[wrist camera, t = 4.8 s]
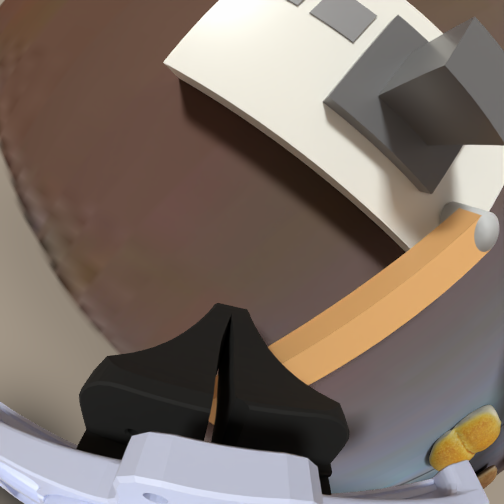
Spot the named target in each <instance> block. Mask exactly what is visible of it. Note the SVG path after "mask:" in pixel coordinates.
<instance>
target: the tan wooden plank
mask: <svg viewBox="0 0 504 504" xmlns="http://www.w3.org/2000/svg"><path fill="white" fill-rule="evenodd" d="M498 235H499V222H498V219H497V217H496V216H495V214H493V213H491V212H488V211H485V210H482V209H479V208H475V207H472V206H469V205H465V204H462V203H458V202H454V201H452V202H449V203H447V204H446V205H445V206H444V207H443V209H442V211H441V214H440V225H439V226H438V227H436V228H435V229H434V230H433V231H432V232H430V233H429V234H428V235H427V236H426V237H424V238H423V239H422V240H421V241H419V242H418V243H417V244H416V245H414V246H413V247H412V248H411V249H409V250H408V251H407V252H406V253H404V254H403V255H402V256H401V257H399V258H398V259H397V260H395V261H394V262H393V263H391V264H390V265H389V266H387V267H386V268H385V269H383V270H382V271H381V272H379V273H378V274H377V275H375V276H374V277H373V278H371V279H370V280H369V281H367V282H366V283H364V284H363V285H362V286H360V287H359V288H357V289H356V290H355V291H353V292H352V293H350V294H349V295H347V296H346V297H345V298H343V299H342V300H340V301H339V302H337V303H336V304H334V305H333V306H331V307H330V308H328V309H327V310H325V311H324V312H322V313H321V314H319V315H318V316H316V317H315V318H313V319H312V320H310V321H309V322H307V323H305V324H304V325H302V326H301V327H299V328H298V329H296V330H294V331H293V332H291V333H290V334H288V335H286V336H285V337H283V338H282V339H280V340H278V341H277V342H275V343H273V344H272V345H270V346H268V348H269V350H270V351H271V352H272V353H273V355H274V356H275V357H276V358H277V359H278V360H279V361H280V362H281V363H282V364H283V365H284V366H285V367H286V368H287V369H288V370H289V371H290V372H291V373H292V374H294V375H295V376H296V377H297V378H298V379H300V380H301V381H302V382H304V383H305V384H307V385H310V384H311V383H313V382H315V381H317V380H319V379H320V378H322V377H324V376H326V375H327V374H329V373H331V372H332V371H334V370H336V369H337V368H339V367H341V366H342V365H344V364H346V363H347V362H349V361H350V360H352V359H354V358H355V357H357V356H358V355H360V354H361V353H363V352H364V351H366V350H368V349H369V348H371V347H372V346H374V345H375V344H377V343H378V342H379V341H381V340H382V339H384V338H385V337H387V336H388V335H390V334H391V333H392V332H394V331H395V330H397V329H398V328H399V327H401V326H402V325H403V324H405V323H406V322H407V321H409V320H410V319H411V318H413V317H414V316H415V315H417V314H418V313H419V312H420V311H422V310H423V309H424V308H426V307H427V306H428V305H429V304H431V303H432V302H433V301H434V300H435V299H437V298H438V297H439V296H440V295H441V294H443V293H444V292H445V291H446V290H447V289H449V288H450V287H451V286H452V285H453V284H454V283H455V282H457V281H458V280H459V279H460V278H461V277H462V276H463V275H464V274H465V273H467V272H468V271H469V270H470V269H471V268H472V267H473V266H474V265H475V264H476V263H477V262H478V261H479V260H480V259H481V258H482V257H483V256H484V255H485V254H486V253H487V252H488V251H489V250H490V249H491V248H492V247H493V246H494V245H495V243H496V241H497V238H498ZM217 387H218V375H217V376H216V378H215V386H214V396H213V401H212V407H211V413H210V417H209V422H211V423H212V424H213V425H214V423H215V417H216V407H217Z"/></svg>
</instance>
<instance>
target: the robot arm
mask: <svg viewBox="0 0 504 504" xmlns="http://www.w3.org/2000/svg"><path fill="white" fill-rule="evenodd" d="M218 368H219V370H218ZM217 371H218V387H217V407H216V417H215V423H214V429H213V435H212V441H211V442H206V441H204V437H205V433H206V429H207V425H208V421H209V417H210V413H211V407H212V401H213V396H214V386H215V378H216V374H217ZM79 400H80V406H81V411H82V415H83V419H84V423H85V426H86V431H85V433H84V435H83V437H82V439H81V441H80V442H79V444H78V445H76V444H73V443H71V442H69V441H67V440H65V439H63V438H61V437H59V436H57V435H55V434H53V433H51V432H49V431H47V430H46V429H44V428H42V427H40V426H38V425H37V424H35V423H33V422H31V421H30V420H28V419H26V418H25V417H23V416H22V415H20V414H18V413H17V412H15V411H14V410H12V409H11V408H9V407H8V406H6V405H4V404H3V403H2V402H0V486H1V487H2V488H4V489H5V490H6V491H8V492H9V493H10V494H12V495H13V496H14V497H16V498H17V499H19V500H20V501H22V502H23V503H24V504H489V500H488V498H487V496H486V494H485V492H484V490H483V488H482V486H481V484H480V482H479V480H478V478H477V476H476V474H475V472H474V470H473V468H472V466H471V464H470V463H469V461H468V460H464V461H460V462H457V463H454V464H450V465H448V466H446V467H444V468H443V469H442V470H440V471H439V472H438V473H437V474H436V475H435V476H434V478H432V479H428V480H424V481H420V482H415V483H411V484H406V485H401V486H395V487H389V488H383V489H376V490H369V491H360V492H350V493H336V494H331V490H330V484H329V479H328V477H330V476H331V474H332V469H331V464H330V463H331V462H332V461H333V460H334V458H335V457H336V456H337V455H338V454H339V452H340V451H341V450H342V448H343V447H344V446H345V444H346V442H347V441H348V439H349V429H348V426H347V422H346V419H345V416H344V413H343V411H342V408H341V406H340V403H338V402H336V401H334V400H332V399H330V398H328V397H326V396H324V395H323V394H321V393H319V392H317V391H316V390H314V389H313V388H311V387H310V386H308V385H307V384H305V383H304V382H302V381H301V380H300V379H298V378H297V377H296V376H295V375H294V374H292V373H291V372H290V371H289V370H288V369H287V368H286V367H285V366H284V365H283V364H282V363H281V362H280V361H279V360H278V359H277V358H276V357H275V356H274V355H273V353H272V352H271V351H270V350H269V348H268V347H267V345H266V344H265V342H264V341H263V339H262V338H261V336H260V334H259V333H258V331H257V329H256V327H255V325H254V323H253V321H252V319H251V317H250V314H249V312H248V311H247V309H242V308H238V307H233V306H229V305H224V304H220V303H217V304H215V305H214V306H213V308H212V309H211V310H210V311H209V312H208V313H207V314H206V315H205V316H204V317H203V318H202V319H201V320H200V321H199V322H197V323H196V324H195V325H194V326H192V327H191V328H189V329H188V330H187V331H185V332H184V333H182V334H181V335H179V336H177V337H176V338H174V339H172V340H170V341H168V342H166V343H163V344H161V345H158V346H156V347H153V348H149V349H146V350H142V351H138V352H134V353H128V354H120V355H113V356H107V357H106V358H105V359H104V360H103V361H102V362H101V363H100V364H99V365H98V366H97V368H96V369H95V370H94V371H93V373H92V374H91V375H90V377H89V378H88V380H87V381H86V383H85V384H84V386H83V387H82V389H81V391H80V394H79Z"/></svg>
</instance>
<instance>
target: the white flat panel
mask: <svg viewBox="0 0 504 504" xmlns="http://www.w3.org/2000/svg"><path fill="white" fill-rule="evenodd" d="M397 15H399V16H400V17H402V18H403V19H404V20H405V21H406V22H408V23H409V24H410V25H411V26H412V27H413V28H414V29H416V30H417V31H418V32H419V33H420V34H421V35H422V36H423V37H424V38H425V39H426V40H427V41H428V42H430V41H432V40H433V39H435V38H437V37H439V36H440V35H442V34H443V33H442V32H441V31H440V30H439V29H438V28H437V27H436V26H434V25H433V24H432V23H431V22H430V21H429V20H428V19H427V18H426V17H425V16H424V15H423V14H421V13H420V12H419V11H418V10H417V9H416V8H414V7H413V6H412V5H411V4H410V3H408V2H407V1H406V0H219V1H218V2H217V3H216V4H215V5H214V6H213V7H212V8H211V9H210V10H209V11H208V12H207V13H206V14H205V15H204V16H203V17H202V18H201V19H200V20H199V21H198V23H197V24H196V25H195V26H194V27H193V28H192V29H191V30H190V31H189V32H188V33H187V35H186V36H185V37H184V38H183V39H182V40H181V42H180V43H179V44H178V45H177V46H176V47H175V49H174V50H173V51H172V52H171V53H170V55H169V56H168V57H167V58H166V60H165V61H164V62H163V63H164V64H165V65H166V66H167V67H168V68H169V69H170V70H171V71H172V72H173V73H174V74H175V75H176V76H177V77H178V78H179V79H181V80H183V81H185V82H186V83H188V84H190V85H191V86H193V87H195V88H196V89H198V90H200V91H201V92H203V93H205V94H206V95H208V96H209V97H211V98H213V99H214V100H216V101H217V102H219V103H220V104H222V105H223V106H225V107H227V108H228V109H230V110H231V111H233V112H234V113H236V114H237V115H239V116H240V117H242V118H243V119H245V120H246V121H247V122H249V123H250V124H252V125H253V126H255V127H256V128H258V129H259V130H260V131H262V132H263V133H265V134H266V135H267V136H269V137H270V138H272V139H273V140H274V141H276V142H277V143H278V144H280V145H281V146H283V147H284V148H285V149H287V150H288V151H289V152H291V153H292V154H293V155H294V156H296V157H297V158H298V159H300V160H301V161H302V162H304V163H305V164H306V165H307V166H309V167H310V168H311V169H312V170H314V171H315V172H316V173H317V174H319V175H320V176H321V177H322V178H324V179H325V180H326V181H327V182H329V183H330V184H331V185H332V186H333V187H335V188H336V189H337V190H338V191H339V192H341V193H342V194H343V195H344V196H345V197H346V198H348V199H349V200H350V201H351V202H352V203H353V204H354V205H356V206H357V207H358V208H359V209H360V210H361V211H362V212H364V213H365V214H366V215H367V216H368V217H369V218H370V219H371V220H372V221H374V222H375V223H376V224H377V225H378V226H379V227H380V228H381V229H382V230H383V231H384V232H385V233H386V234H388V235H389V236H390V237H391V238H392V239H393V240H394V241H395V242H396V243H397V244H398V245H399V246H400V247H401V248H402V249H403V250H404V251H405V252H407V251H408V250H409V249H411V248H412V247H413V246H414V245H416V244H417V243H418V242H419V241H421V240H422V239H423V238H424V237H426V236H427V235H428V234H429V233H430V232H432V231H433V230H434V229H435V228H436V227H438V226H439V225H440V214H441V211H442V209H443V207H444V206H445V205H446V204H447V203H449V202H452V201H454V202H458V203H462V204H465V205H469V206H472V207H475V208H479V209H482V210H485V211H488V212H489V210H490V209H491V207H492V205H493V203H494V202H495V200H496V198H497V196H498V194H499V193H500V191H501V189H502V187H503V185H504V146H500V145H463V146H462V148H461V149H460V151H459V153H458V154H457V156H456V158H455V159H454V161H453V162H452V164H451V166H450V167H449V169H448V170H447V172H446V174H445V175H444V177H443V178H442V180H441V181H440V183H439V184H438V186H437V187H436V189H435V190H434V192H433V193H432V194H428V193H424V192H420V191H419V190H418V189H417V188H416V187H415V186H414V185H413V183H412V182H411V181H410V180H409V179H408V178H407V177H406V176H405V175H404V174H403V173H402V172H401V171H400V170H399V169H398V168H397V167H396V166H395V165H394V164H393V163H392V162H391V161H390V160H389V159H388V158H387V157H386V156H385V155H384V154H383V153H382V152H381V151H380V150H378V149H377V148H376V147H375V146H374V145H373V144H372V143H371V142H370V141H369V140H368V139H366V138H365V137H364V136H363V135H362V134H361V133H360V132H359V131H357V130H356V129H355V128H354V127H353V126H352V125H350V124H349V123H348V122H347V121H346V120H344V119H343V118H342V117H341V116H340V115H338V114H337V113H336V112H335V111H333V110H332V109H331V108H330V107H328V106H327V105H326V104H325V103H323V101H324V99H325V98H326V97H327V96H328V94H329V93H330V92H331V91H332V90H333V88H334V87H335V86H336V85H337V83H338V82H339V81H340V80H341V79H342V77H343V76H344V75H345V74H346V73H347V71H348V70H349V69H350V68H351V67H352V65H353V64H354V63H355V62H356V61H357V59H358V58H359V57H360V56H361V55H362V53H363V52H364V51H365V50H366V49H367V48H368V46H369V45H370V44H371V43H372V42H373V41H374V39H375V38H376V37H377V36H378V35H379V34H380V33H381V31H382V30H383V29H384V28H385V27H386V26H387V25H388V23H389V22H390V21H391V20H393V19H394V18H395V17H396V16H397Z"/></svg>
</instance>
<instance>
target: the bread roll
mask: <svg viewBox="0 0 504 504" xmlns="http://www.w3.org/2000/svg"><path fill="white" fill-rule="evenodd" d="M500 425H501V421H500V420H499V417H498V415H497V413H496V411H495V409H494V407H492V406H491V405H485V406H482V407H481V408H479V409H477V410H475V411H473V412H471V413H470V414H469V415H467V416H466V417H465V418H463V419H462V420H461V421H460V422H459V423H458V424H456V426H455V427H454V428H453V429H452V430H449V431H447V432H446V433H445V434H443V435H442V436H441V437H440V438H439V439H438V440H437V441H436V442H435V444H434V446H433V448H432V450H431V453H430V456H429V462H430V464H431V466H432V467H433V468H435V469H436V470H438V471H440V470H442V469H443V468H444V467H446V466H448V465H450V464H454V463H457V462H460V461H464V460H468V461H469V460H470V459H471V458H472V457H473V456H474V455H475V453H476V452H480V451H482V450H485V449H486V448H488V447H489V446H490V445H491V444H492V443H493V442H494V441H495V440H496V439H497V437H498V436H499V433H500V428H501V427H500Z"/></svg>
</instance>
